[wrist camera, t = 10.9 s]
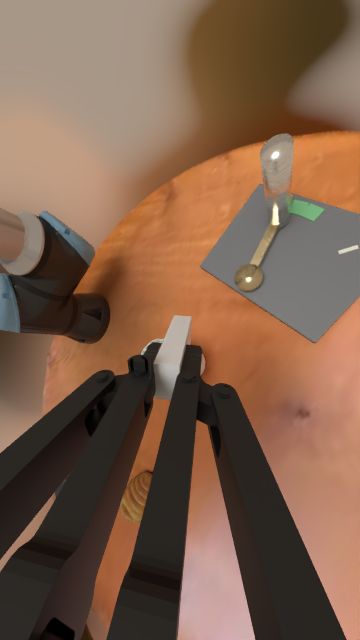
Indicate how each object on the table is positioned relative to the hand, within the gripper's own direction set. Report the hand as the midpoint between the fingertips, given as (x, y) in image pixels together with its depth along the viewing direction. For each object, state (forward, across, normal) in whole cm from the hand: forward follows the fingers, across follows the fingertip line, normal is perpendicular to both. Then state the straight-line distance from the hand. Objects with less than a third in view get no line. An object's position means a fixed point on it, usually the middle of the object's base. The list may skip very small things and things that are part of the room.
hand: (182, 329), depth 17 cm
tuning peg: (+25, +12, +5) cm, 28 cm away
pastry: (+5, -9, -44) cm, 45 cm away
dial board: (+25, +15, +4) cm, 29 cm away
